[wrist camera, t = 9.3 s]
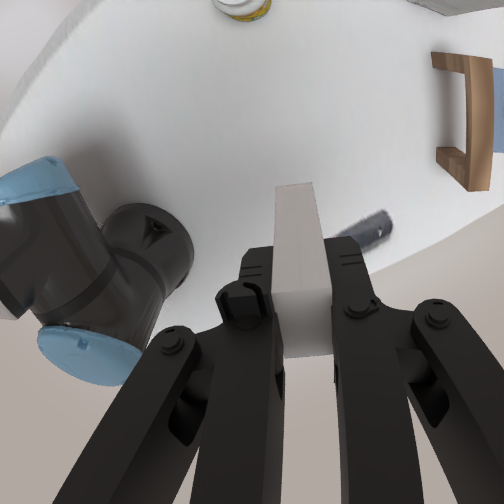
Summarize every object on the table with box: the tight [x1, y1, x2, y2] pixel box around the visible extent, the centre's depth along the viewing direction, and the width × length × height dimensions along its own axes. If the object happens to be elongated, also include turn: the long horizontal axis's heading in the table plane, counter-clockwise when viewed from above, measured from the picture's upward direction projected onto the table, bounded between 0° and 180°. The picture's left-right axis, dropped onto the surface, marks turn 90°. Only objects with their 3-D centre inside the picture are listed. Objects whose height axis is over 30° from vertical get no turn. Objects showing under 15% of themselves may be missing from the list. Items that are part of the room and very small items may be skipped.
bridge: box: [431, 52, 494, 192], centre depth 27 cm, size 3×14×9 cm, turn 11°
